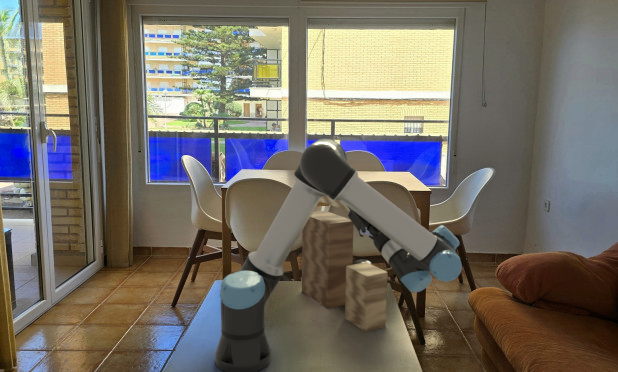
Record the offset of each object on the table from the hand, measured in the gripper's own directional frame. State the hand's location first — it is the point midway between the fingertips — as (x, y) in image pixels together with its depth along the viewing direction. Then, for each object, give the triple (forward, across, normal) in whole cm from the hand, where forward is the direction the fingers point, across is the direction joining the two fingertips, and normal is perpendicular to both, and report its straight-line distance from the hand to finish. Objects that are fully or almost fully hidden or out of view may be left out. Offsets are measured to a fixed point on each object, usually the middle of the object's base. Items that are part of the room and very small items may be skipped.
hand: (351, 195), depth 155 cm
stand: (-8, 0, -42) cm, 42 cm away
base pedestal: (-28, -1, -30) cm, 41 cm away
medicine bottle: (-10, +15, -41) cm, 44 cm away
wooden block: (+1, 0, -6) cm, 6 cm away
